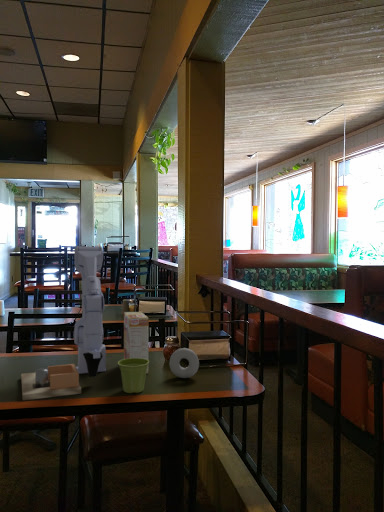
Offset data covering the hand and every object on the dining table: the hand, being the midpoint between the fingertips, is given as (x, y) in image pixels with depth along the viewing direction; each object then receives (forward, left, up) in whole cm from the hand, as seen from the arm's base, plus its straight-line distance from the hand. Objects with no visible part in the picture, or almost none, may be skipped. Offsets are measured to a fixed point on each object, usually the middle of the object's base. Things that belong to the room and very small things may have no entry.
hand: (92, 376), depth 130 cm
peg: (+15, 0, -2) cm, 15 cm away
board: (+12, -4, -3) cm, 13 cm away
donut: (-30, +4, -3) cm, 30 cm away
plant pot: (-11, +10, -3) cm, 15 cm away
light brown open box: (+9, 0, -1) cm, 10 cm away
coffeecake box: (-18, -13, -3) cm, 22 cm away
